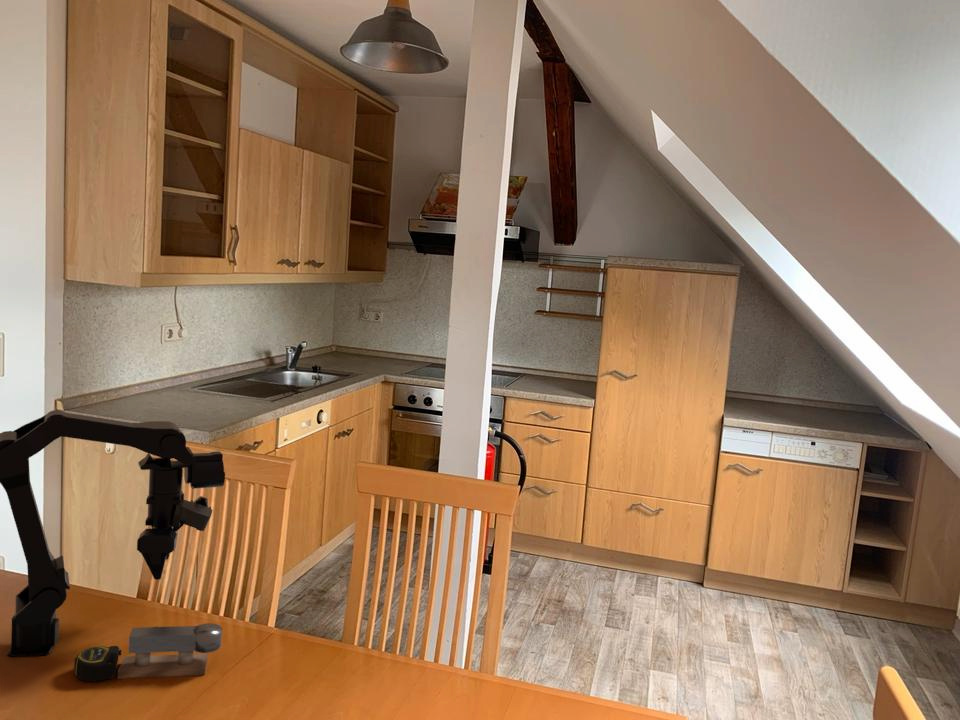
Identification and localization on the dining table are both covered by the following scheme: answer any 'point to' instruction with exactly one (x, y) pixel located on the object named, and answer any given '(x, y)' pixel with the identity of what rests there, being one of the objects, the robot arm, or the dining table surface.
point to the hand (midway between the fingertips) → (161, 568)
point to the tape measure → (97, 663)
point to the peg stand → (163, 665)
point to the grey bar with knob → (176, 639)
